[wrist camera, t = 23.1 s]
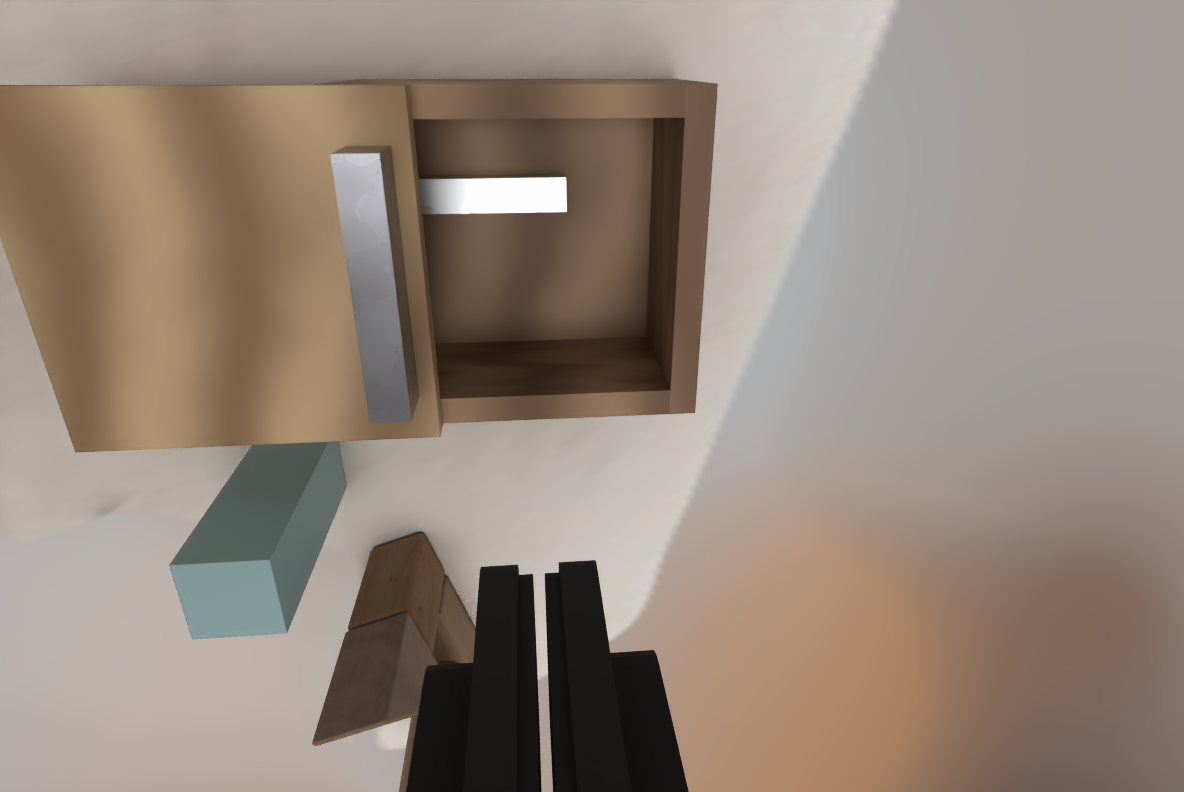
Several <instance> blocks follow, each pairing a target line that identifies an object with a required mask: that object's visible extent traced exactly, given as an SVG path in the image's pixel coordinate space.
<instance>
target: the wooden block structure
mask: <svg viewBox="0 0 1184 792" xmlns="http://www.w3.org/2000/svg"><path fill="white" fill-rule="evenodd" d="M348 629H349V631H348V632H346V634H345V637H344V640H343V643H342V647H341V650H340V653H339V657H338V660H337V663H336V666H335V670H334V673H333V676H332V680H331V683H330V686H329V689H328V693H327V696H326V699H325V703H324V706H323V709H322V712H321V716H320V719H319V722H318V725H317V729H316V732H315V735H314V739H313V745H315V746H318V745H321V744H324V743H328V742H331V741H334V740H337V739H340V738H344V737H347V736H350V735H353V734H357V733H360V732H363V731H367V730H370V729H373V728H377V727H380V726H383V725H386V724H390V723H393V722H396V721H399V720H403V719H406V718H409V717H411V722H410V728H409V734H408V740H407V746H406V753H405V758H404V764H403V770H402V776H401V783H400V789H399V792H406V789H407V782H408V776H409V769H410V763H411V756H412V750H413V744H414V737H415V731H416V724H417V718H418V711H419V705H420V698H421V692H422V685H423V679H424V674H425V670H426V668H427V666H430V665H444V664H459V663H473V656H474V643H475V629H474V627H473V625H472V623H471V621H470V619H469V618H468V616H467V614H466V612H465V610H464V608H463V606H462V604H461V603H460V601H459V599H458V597H457V595H456V593H455V591H454V590H453V588H452V586H451V584H450V582H449V580H448V578H447V577H444V571H443V569H442V567H441V565H440V563H439V561H438V559H437V557H436V556H435V554H434V552H433V550H432V548H431V546H430V544H429V543H428V541H427V539H426V537H425V535H424V534H423V533H418V534H415V535H412V536H409V537H406V538H403V539H400V540H397V541H394V542H391V543H388V544H385V545H382V546H379V547H376V548H374V549H373V550H372V551H371V553H370V556H369V560H368V563H367V566H366V569H365V573H364V576H363V579H362V583H361V586H360V589H359V592H358V596H357V599H356V603H355V606H354V609H353V612H352V616H351V619H350V622H349V625H348Z"/></svg>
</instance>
